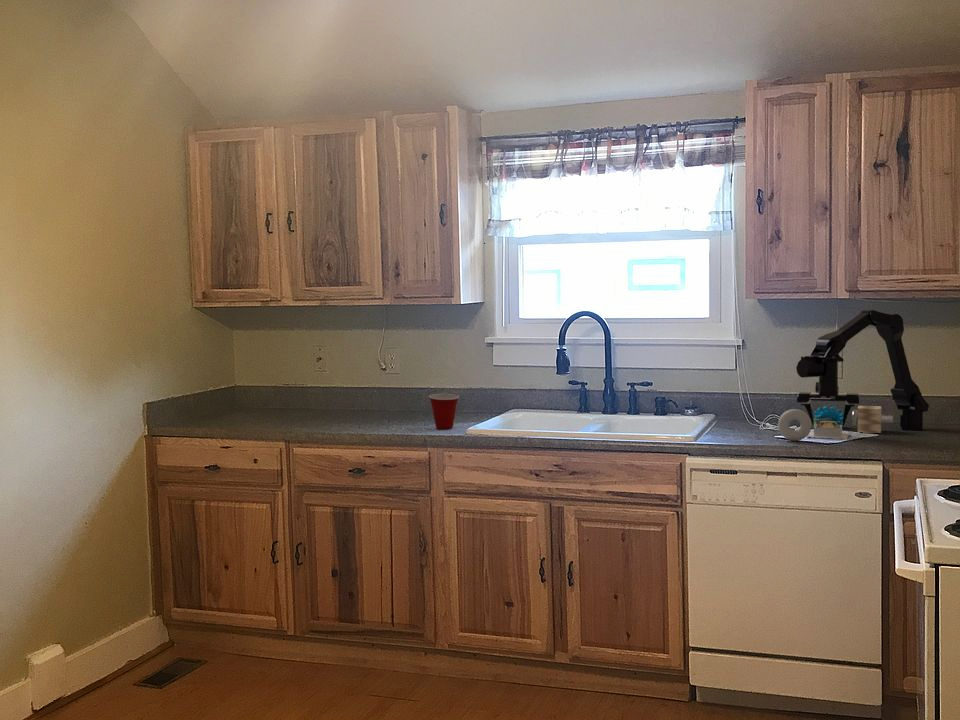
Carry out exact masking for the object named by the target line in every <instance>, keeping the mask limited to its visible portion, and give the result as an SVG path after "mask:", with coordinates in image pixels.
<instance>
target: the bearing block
mask: <svg viewBox="0 0 960 720" xmlns="http://www.w3.org/2000/svg"><path fill="white" fill-rule="evenodd" d="M857 410H858V424H857V433H858V432H863V433H862V434H873V433H881V434H882V422H881V415H882V406H880V405H879V406H878V405H858V407H857Z"/></svg>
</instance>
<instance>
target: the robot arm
mask: <svg viewBox="0 0 960 720" xmlns="http://www.w3.org/2000/svg"><path fill="white" fill-rule="evenodd" d="M869 326H872V327H875V329H876V331H877V333H878V335H879V337H880V338H881V339H882V340H883V341H884V342H885V346H886V351H887V354H888V357H889V361H890V366H891V369H892V374H893V377H894V382H895V383H894V387H892V388H890V393H891V395H892V399H891V400H892V401H894V403H895V404H896V408H897V410H901V411H902V412H901V413H900V414H899V416H900V417H899V420H900V421H899V426H900V428H901V430H904V431H905V430H908V431H909V430H910V431H911V430H912V431H924V427H923V426H924V425H923V424H924V413H925V412H928V410H929V408H930V404H929V403H928V402H927V400H926V399H924V397H923V394H922V393H921V390H920V387H919V386H918V385H917V383H915V381H914V380H913V378H912V375H911V370H910V368H909V363H908V359H907V355H906V352H905V348H904V343H903V341H902V339H903V338H902V337H903V335H904V332H905V326H904V319H903V317H902V315H900V314H898V313H887V312H886V313H885V312H882V311H881V312H880V311H878V310H875V309H864V310H861V311H860V312H859V314H858V315H856V316H855V317H854V318H852V319H850V320H849V321H848V322H846V323H845V324H844V325H842V326H841V327H840V328H838V329H837V330H835V331H833V332H830V333H829V332H828V333H826V334H824V335H821V336H819V337H818V338H817V339H816V340H815V345H814V346H813V349H812V350H811V351H810V353H809V354H808V355H801V356H800V360H799V361H798V362H797V364H796V367H795V368H796V374H797V375H798V377H800V378H801V379H803V378H818V381H816V382H815V384H814V385H815V387H814V390H815V391H814V392H815V393H818V394H812V393H811V392H803V391H802V392H798V393H797V395H796V403H801V404H800V405H801V406H803V407H804V408H805V410H806V411H807V412H806V413H807V415H808V416H809V418H810V419H811V424H812V425H813V426H814V417H815V416H814V417H813V415H814V411H813V410H814V409H813V401H819V402H820V401H822V402H823V401H824V402H828V401H829V402H845V404H844V409H843V413H844V416H843V421H842V427H844V426H845V424H846V421H847V418H848V415H849V413H850V410H851V408H852V407H856V404H857V405H859V404H860V403H861V395H860V394H859V393H853V392H846V394H844V395H841V394H839V362H840V363H841V362H844V360H845V359H844V358H843V357H842V356H840V355H839V354H840V353H841V352H842V351H843V350H844V349H845V348H846V344H847V343H848V342H849V341H850V340H852V338H854V337H855V336H856V335H858V334H859V333H861V332H862V331H864V330H865V329H866V328H867V327H869Z"/></svg>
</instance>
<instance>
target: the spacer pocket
mask: <svg viewBox="0 0 960 720" xmlns="http://www.w3.org/2000/svg"><path fill="white" fill-rule="evenodd" d="M848 435H850V432H847V431H846V432H844V431H843V424H842V425H841V424H840V425H838V424H837V428H820V424H816V425H815V427H814V426H813V430H811V431H810V433H809V434H808V435H807V436H806V438H807V437H815V438H814V439H818V438H834V439H833V440H845V439H847V438H849V436H848ZM816 437H817V438H816ZM847 440H848V439H847Z"/></svg>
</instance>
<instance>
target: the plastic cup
mask: <svg viewBox="0 0 960 720" xmlns="http://www.w3.org/2000/svg"><path fill="white" fill-rule="evenodd" d="M428 398H429V400H430V403H431V408H432V414H433V419H434V425H435V428H436V430H441V431H442V430H452V429H453V428H454V423H455V422H454V421H455V418H456V417H455V416H456V410H457V404H458V401H459V398H460V395H458V394H455V393H432V394H429V395H428Z"/></svg>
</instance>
